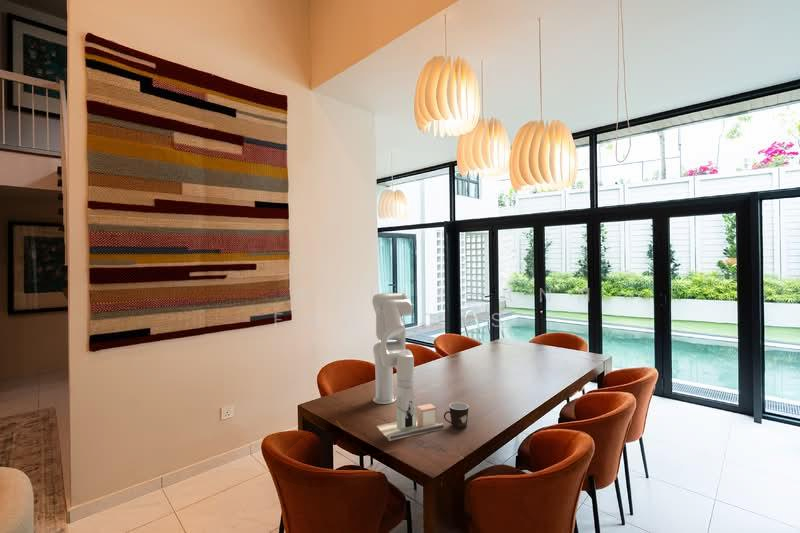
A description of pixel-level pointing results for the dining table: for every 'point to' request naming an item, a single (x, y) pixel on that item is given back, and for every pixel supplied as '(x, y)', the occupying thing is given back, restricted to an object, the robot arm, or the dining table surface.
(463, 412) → the coffee mug
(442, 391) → the dining table surface
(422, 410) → the pink rectangular block
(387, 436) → the shelf board
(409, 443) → the dining table surface
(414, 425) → the green tin
